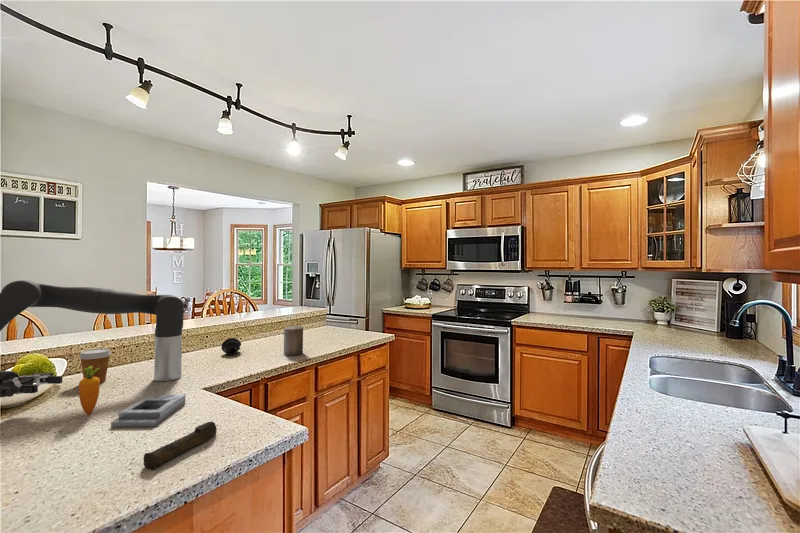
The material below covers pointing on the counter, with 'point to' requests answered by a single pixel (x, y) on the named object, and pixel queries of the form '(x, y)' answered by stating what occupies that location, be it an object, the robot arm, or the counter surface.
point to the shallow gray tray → (149, 411)
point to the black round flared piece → (231, 346)
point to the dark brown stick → (180, 445)
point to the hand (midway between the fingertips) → (49, 384)
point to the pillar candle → (293, 340)
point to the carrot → (89, 390)
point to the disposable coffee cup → (96, 361)
